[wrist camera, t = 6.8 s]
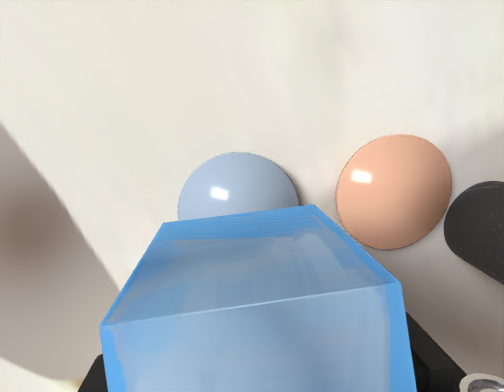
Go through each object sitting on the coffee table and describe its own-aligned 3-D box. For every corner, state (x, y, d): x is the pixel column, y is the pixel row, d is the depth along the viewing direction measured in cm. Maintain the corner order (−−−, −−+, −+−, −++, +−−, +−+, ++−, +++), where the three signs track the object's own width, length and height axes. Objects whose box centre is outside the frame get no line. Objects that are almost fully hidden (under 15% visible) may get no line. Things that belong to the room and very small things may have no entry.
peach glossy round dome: (330, 140, 22) (336, 141, 21) (444, 128, 23) (456, 128, 21) (334, 249, 24) (339, 256, 23) (437, 236, 25) (447, 241, 24)
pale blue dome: (170, 158, 21) (167, 160, 20) (291, 145, 22) (295, 146, 21) (189, 268, 24) (187, 276, 22) (298, 254, 24) (302, 261, 23)
